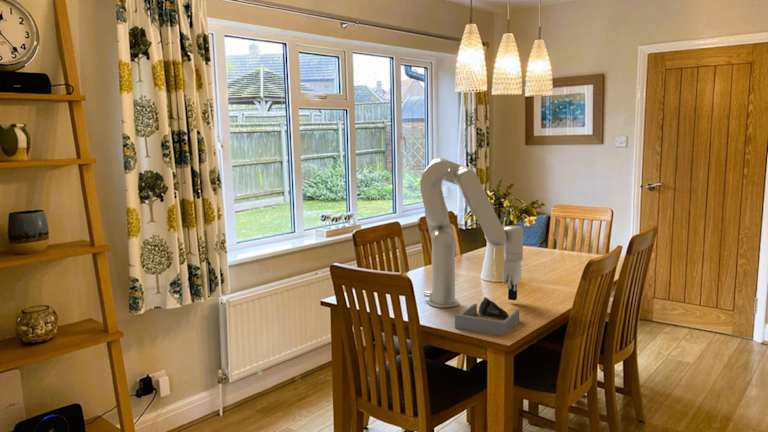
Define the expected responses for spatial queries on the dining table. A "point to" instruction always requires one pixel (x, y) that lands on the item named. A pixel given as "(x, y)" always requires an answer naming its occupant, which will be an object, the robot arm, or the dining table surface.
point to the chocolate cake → (491, 310)
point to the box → (484, 322)
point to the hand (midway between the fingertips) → (512, 299)
